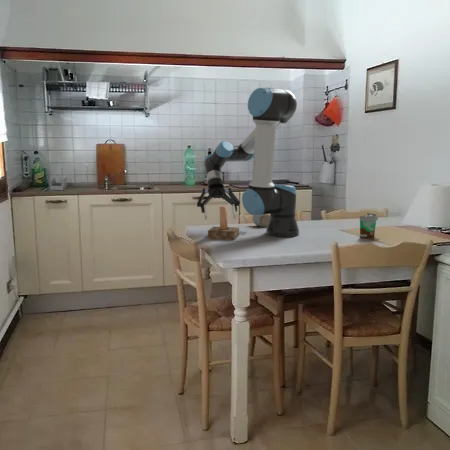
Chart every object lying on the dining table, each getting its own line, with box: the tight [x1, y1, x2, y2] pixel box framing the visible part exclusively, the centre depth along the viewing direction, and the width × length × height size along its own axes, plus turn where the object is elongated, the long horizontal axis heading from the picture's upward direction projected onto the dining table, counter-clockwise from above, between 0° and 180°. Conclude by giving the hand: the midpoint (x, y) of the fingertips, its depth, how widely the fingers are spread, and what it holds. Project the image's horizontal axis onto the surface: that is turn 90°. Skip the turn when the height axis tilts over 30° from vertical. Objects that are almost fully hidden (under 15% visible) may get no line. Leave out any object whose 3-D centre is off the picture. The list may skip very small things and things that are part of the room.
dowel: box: [219, 205, 228, 230], centre depth 212 cm, size 3×3×14 cm
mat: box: [239, 230, 248, 236], centre depth 223 cm, size 10×8×1 cm
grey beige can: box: [252, 214, 270, 228], centre depth 241 cm, size 11×8×8 cm
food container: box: [359, 212, 378, 239], centre depth 212 cm, size 12×6×10 cm, turn 148°
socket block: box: [207, 226, 240, 241], centre depth 213 cm, size 12×10×4 cm
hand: (220, 217), depth 218 cm, fingers open, 13 cm apart
